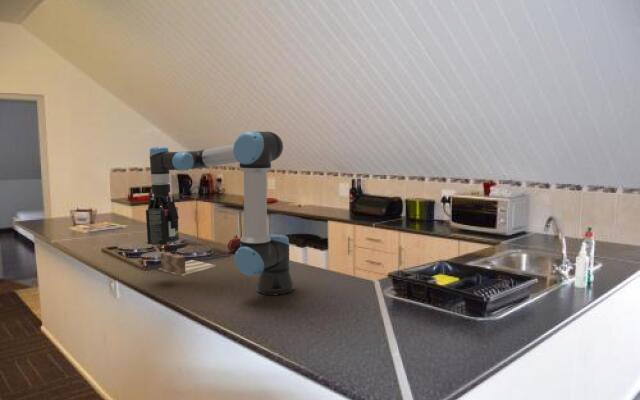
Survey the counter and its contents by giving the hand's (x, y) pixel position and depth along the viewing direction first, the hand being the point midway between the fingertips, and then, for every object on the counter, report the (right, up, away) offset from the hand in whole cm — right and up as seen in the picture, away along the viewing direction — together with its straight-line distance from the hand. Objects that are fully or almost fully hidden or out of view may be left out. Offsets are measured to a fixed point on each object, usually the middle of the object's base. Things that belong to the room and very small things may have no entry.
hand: (163, 234), depth 210 cm
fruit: (+22, -14, +57) cm, 63 cm away
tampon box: (0, -3, 0) cm, 3 cm away
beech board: (+4, -18, +26) cm, 32 cm away
